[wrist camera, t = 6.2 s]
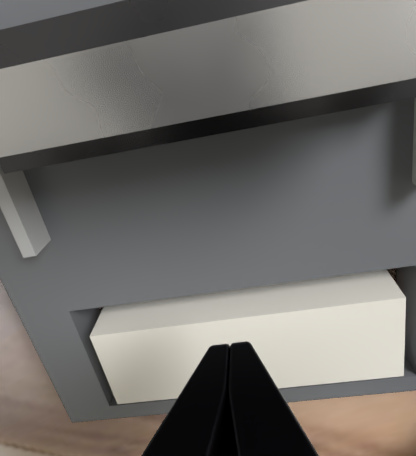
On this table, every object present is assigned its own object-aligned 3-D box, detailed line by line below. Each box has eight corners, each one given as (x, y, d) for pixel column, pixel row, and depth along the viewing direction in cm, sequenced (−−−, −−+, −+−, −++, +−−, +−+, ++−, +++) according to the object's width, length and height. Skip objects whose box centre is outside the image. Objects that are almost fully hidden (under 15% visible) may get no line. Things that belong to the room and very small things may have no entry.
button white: (377, 326, 15) (403, 375, 13) (132, 354, 16) (117, 404, 14) (376, 255, 14) (406, 297, 11) (110, 292, 15) (89, 336, 13)
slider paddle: (407, 90, 9) (532, 122, 5) (23, 162, 10) (-93, 229, 7) (411, -61, 8) (576, -155, 4) (-26, 42, 9) (-204, 40, 5)
